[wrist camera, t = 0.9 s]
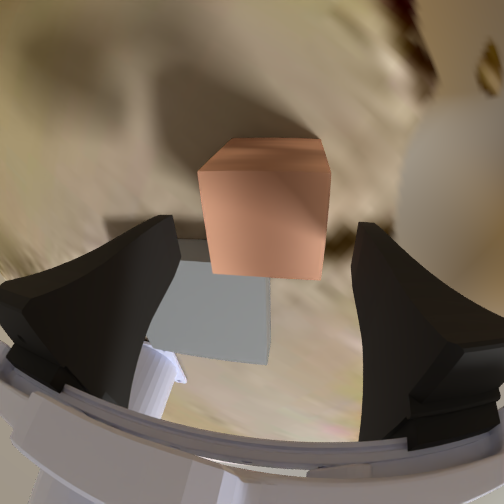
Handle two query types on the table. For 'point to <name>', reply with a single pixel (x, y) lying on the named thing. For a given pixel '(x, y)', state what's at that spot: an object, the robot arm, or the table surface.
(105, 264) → the robot arm
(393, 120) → the table surface
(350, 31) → the table surface
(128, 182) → the table surface
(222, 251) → the terracotta cube
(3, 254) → the table surface
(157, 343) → the gray plinth
